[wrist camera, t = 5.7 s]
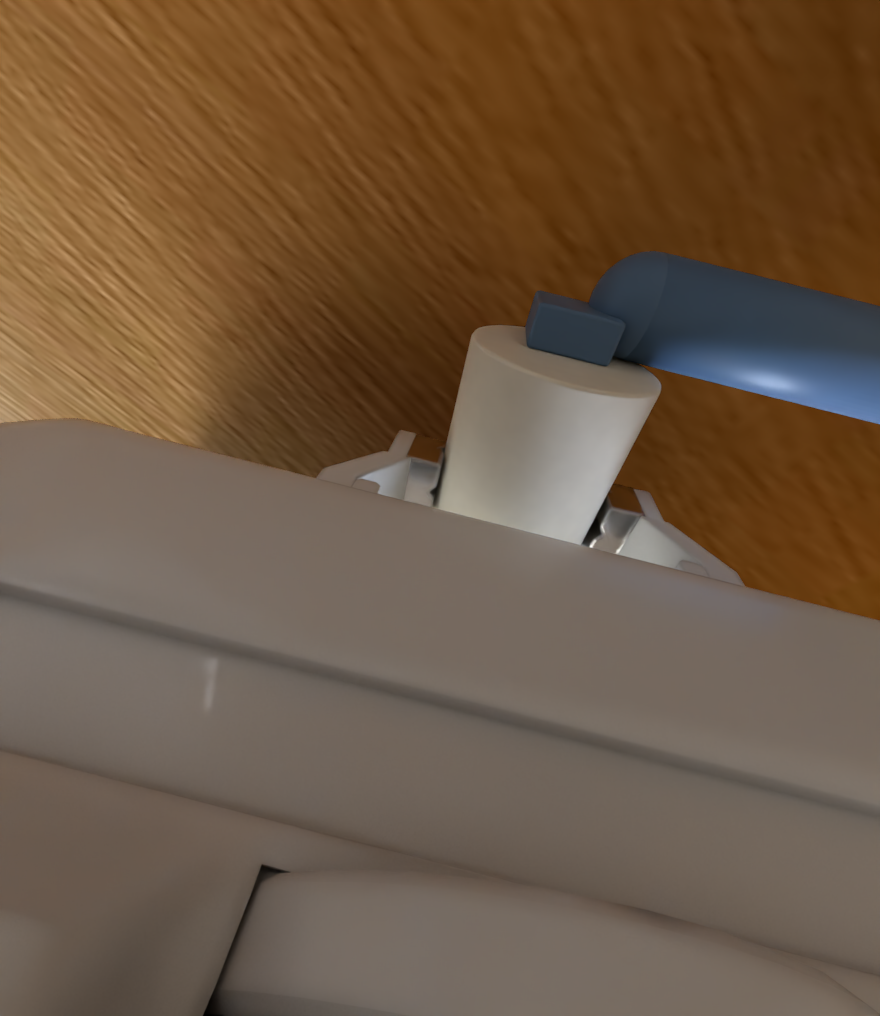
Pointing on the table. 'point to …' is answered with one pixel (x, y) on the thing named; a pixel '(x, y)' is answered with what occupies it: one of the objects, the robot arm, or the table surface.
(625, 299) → the lint roller
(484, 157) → the table surface
